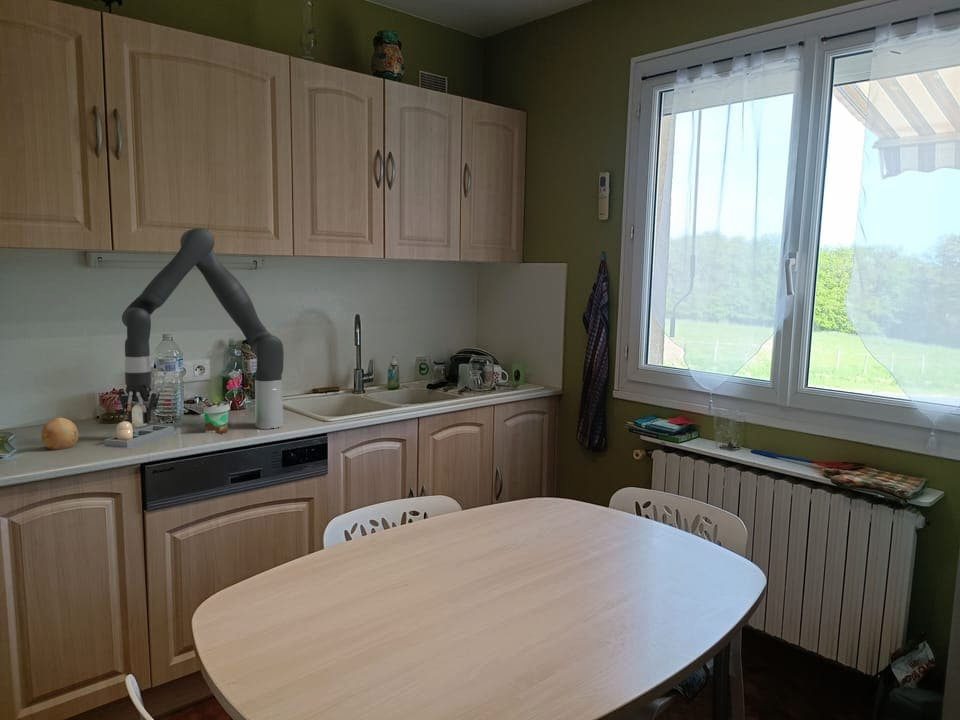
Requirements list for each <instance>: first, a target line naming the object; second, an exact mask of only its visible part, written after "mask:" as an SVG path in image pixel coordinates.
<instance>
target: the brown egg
mask: <svg viewBox="0 0 960 720" xmlns="http://www.w3.org/2000/svg"><path fill="white" fill-rule="evenodd" d="M133 427H134V426H132V423H130V421H125V420H123V421H121V422H119V423H118V424H117V426H116V436H117V440H124V441H127V440H130V439H133V431H134V430H133Z"/></svg>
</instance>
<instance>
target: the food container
mask: <svg viewBox="0 0 960 720" xmlns="http://www.w3.org/2000/svg"><path fill="white" fill-rule="evenodd" d="M230 410H231V407H230V404H229V402H227V401H224V400H223V401H221V400H217V403H215V404H212V405H210V406H204V407H203V414H204V427H205V434H216V435H218V434H221V435H224V434H223V433H225V434H227V433H228V423H229V422H228V421H229V411H230ZM226 432H227V433H226Z"/></svg>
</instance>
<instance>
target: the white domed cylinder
mask: <svg viewBox="0 0 960 720" xmlns="http://www.w3.org/2000/svg"><path fill="white" fill-rule="evenodd" d="M131 425H132V427H138V428H139V427H147V426H148V423H147V424H144V423H143V408H142V406H141V405H140V403H137V404H136V405H134V406H133V408H132V423H131Z"/></svg>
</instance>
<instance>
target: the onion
mask: <svg viewBox="0 0 960 720" xmlns="http://www.w3.org/2000/svg"><path fill="white" fill-rule="evenodd" d="M40 436H41V440H42V441H41V442H42V444H43V446H44V447H46V448H48V449H49V450H53V451H54V450H55V451H56V450H57V451H58V450H65V449H70V448H72V447H73V446H75V444H76V443H77V442H78V440H79V429H78V427H77V425H76V424H75V423H74V422H73V421H72V420H70V419H67V418H65V417H55V418H53V419H51V420H49V421H48V422H47V423H46V424H45V425H44V426H43V428H42V430H41V435H40Z"/></svg>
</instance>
